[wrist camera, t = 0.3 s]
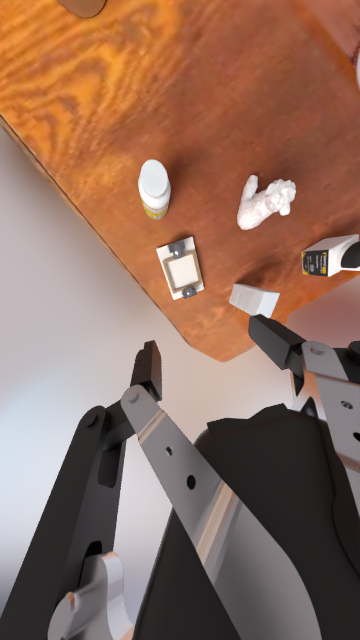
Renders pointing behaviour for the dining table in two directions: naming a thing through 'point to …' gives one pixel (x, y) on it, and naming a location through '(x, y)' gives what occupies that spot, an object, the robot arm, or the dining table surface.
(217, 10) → the dining table surface
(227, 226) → the dining table surface
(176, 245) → the shaft stubs
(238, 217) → the white creature statuette
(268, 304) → the skincare box
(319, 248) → the medicine bottle
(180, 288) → the coupling board
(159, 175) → the supplement bottle
